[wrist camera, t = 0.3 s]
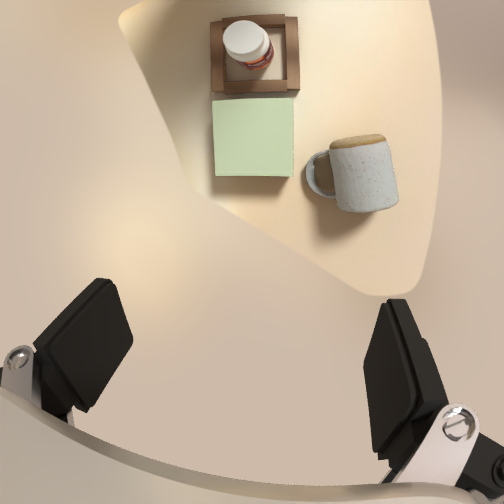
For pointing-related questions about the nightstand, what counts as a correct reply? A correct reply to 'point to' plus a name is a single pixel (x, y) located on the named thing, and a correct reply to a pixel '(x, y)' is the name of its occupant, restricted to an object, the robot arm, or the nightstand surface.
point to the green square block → (253, 137)
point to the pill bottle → (248, 45)
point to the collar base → (255, 85)
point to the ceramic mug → (359, 174)
